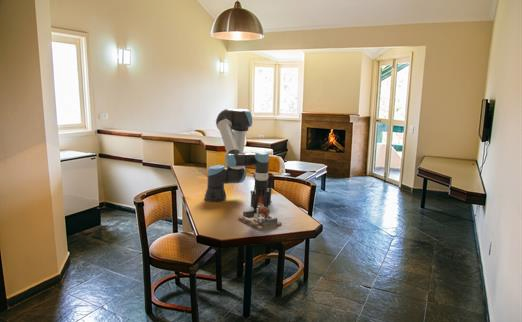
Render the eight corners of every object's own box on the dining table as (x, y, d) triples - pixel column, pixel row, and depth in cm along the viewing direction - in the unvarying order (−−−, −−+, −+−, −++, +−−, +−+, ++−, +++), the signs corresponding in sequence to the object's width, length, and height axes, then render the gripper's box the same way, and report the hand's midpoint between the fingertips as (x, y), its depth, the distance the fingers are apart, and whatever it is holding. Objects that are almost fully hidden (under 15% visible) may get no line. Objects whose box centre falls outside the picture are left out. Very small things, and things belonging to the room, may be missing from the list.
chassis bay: (238, 219, 216) (238, 212, 215) (259, 214, 225) (259, 207, 225) (259, 230, 199) (260, 222, 199) (281, 225, 209) (282, 217, 208)
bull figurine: (253, 214, 218) (254, 201, 216) (270, 220, 209) (271, 206, 208) (248, 216, 215) (249, 202, 213) (266, 222, 206) (266, 208, 205)
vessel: (248, 199, 256) (249, 171, 253) (265, 197, 263) (267, 171, 259) (257, 205, 244) (259, 176, 240) (275, 203, 250) (277, 175, 247)
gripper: (252, 182, 199) (251, 222, 204) (277, 178, 210) (275, 216, 215) (244, 179, 205) (243, 218, 209) (269, 176, 216) (267, 213, 220)
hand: (259, 217), depth 212 cm, fingers closed on bull figurine, 5 cm apart
